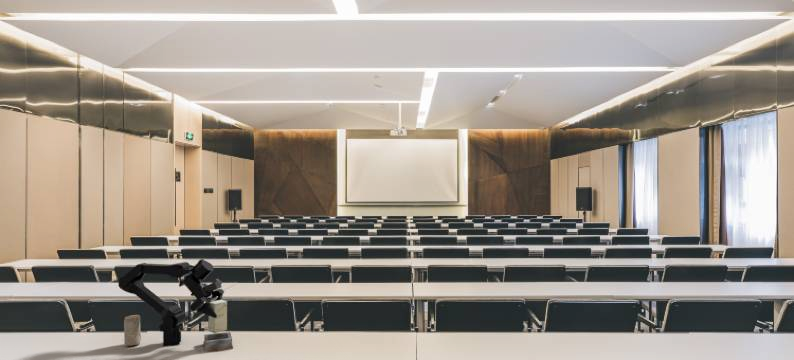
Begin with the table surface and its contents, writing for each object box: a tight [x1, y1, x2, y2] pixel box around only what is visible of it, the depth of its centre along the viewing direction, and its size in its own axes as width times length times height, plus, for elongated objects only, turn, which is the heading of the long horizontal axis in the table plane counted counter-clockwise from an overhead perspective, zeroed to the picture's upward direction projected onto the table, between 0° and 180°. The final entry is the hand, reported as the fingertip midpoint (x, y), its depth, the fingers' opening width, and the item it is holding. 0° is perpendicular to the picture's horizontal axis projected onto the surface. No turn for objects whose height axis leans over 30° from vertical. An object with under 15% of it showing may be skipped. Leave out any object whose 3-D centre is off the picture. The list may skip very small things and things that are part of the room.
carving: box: [123, 314, 142, 347], centre depth 216 cm, size 6×8×12 cm
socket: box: [203, 331, 234, 353], centre depth 214 cm, size 11×11×4 cm
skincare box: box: [208, 299, 228, 334], centre depth 214 cm, size 6×4×12 cm
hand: (220, 314), depth 214 cm, fingers closed on skincare box, 7 cm apart
